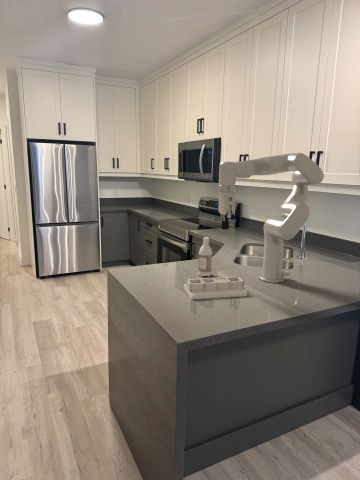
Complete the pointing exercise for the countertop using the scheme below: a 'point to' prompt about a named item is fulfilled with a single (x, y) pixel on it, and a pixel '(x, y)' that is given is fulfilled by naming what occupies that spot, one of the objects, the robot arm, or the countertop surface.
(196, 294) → the white compartment tray
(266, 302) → the countertop surface
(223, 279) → the key
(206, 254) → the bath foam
